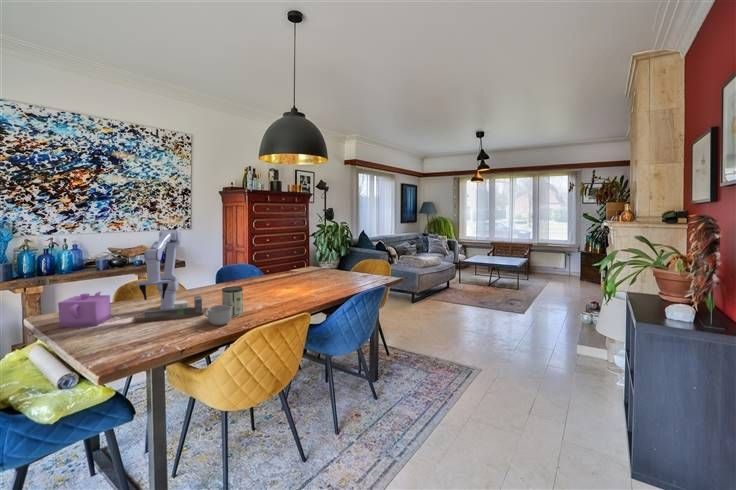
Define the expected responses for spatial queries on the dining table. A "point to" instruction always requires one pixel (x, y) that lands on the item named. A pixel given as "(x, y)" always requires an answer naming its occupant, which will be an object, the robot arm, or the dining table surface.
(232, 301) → the coffee can
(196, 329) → the dining table surface
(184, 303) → the gauge slider
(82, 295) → the purple box
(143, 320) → the gauge base
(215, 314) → the teacup
